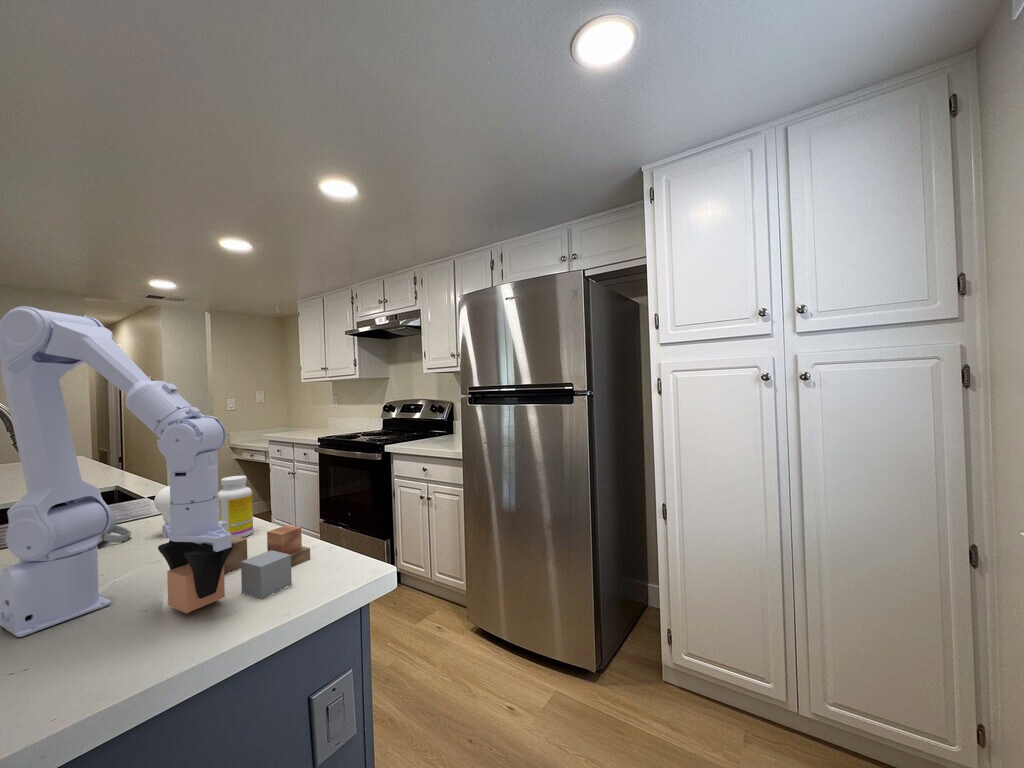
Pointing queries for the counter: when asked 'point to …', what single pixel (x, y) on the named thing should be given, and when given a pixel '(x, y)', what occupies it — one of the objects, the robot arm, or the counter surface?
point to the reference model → (288, 543)
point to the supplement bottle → (236, 506)
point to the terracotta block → (189, 590)
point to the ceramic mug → (116, 529)
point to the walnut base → (236, 554)
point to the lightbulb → (163, 503)
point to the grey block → (266, 574)
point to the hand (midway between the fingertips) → (196, 591)
